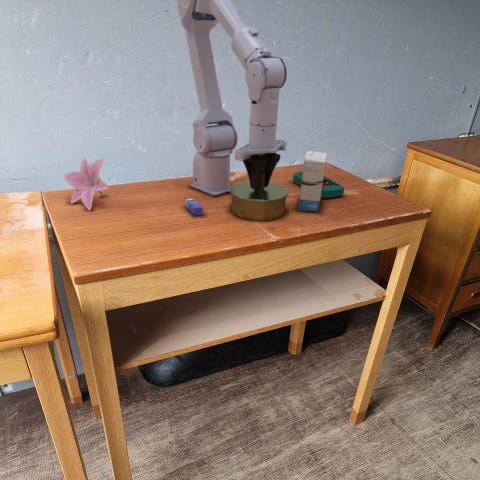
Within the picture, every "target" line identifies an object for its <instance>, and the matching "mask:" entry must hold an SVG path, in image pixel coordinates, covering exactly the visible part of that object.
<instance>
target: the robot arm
mask: <svg viewBox="0 0 480 480" xmlns="http://www.w3.org/2000/svg"><path fill="white" fill-rule="evenodd" d="M176 3H177V9H178V13H179V19H180V23H181V24H180V25H181V27H182V28H184V33H185V39H186V44H187V45H186V46H187V49H188V55H189V60H190V65H191V70H192V75H193V80H194V85H195V90H196V97H197V101H198V106H199V111H200V113H199V114H198V116H197V117H196V118H195V119H194V121H193V122H192V127H193V128H192V129H193V136H192V137H193V138H192V141H193V145H194V148H195V150H196V151H197V152H195V154H194V156H193V158H192V183H191V184H190V187H191V188H194V189H197V190H199V191H201V192H204V193H206V194H207V195H208V194H209V195H211V196H219V195H222V194H226V193H230V187H231V186H232V184H230V178H231V177H230V174H231V155H232V154H233V153H234V160H235V161H239V162H243V165H244V167H245V170H246V172H247V176H248V180H249V181H250V186H251V188H252V189H255V190H259V188H260V183H261V175H262V171H265V172H266V173H265V187H268V185H269V181H270V182H271V179H272V175H273V173H274V170H275V168H276V167H277V165H278V163H279V161H280V160H281V154H279V153H278V152H279V151H281V152H283V151H286V150H287V145H288V144H287V143H288V142H287V140H284V139H276V137H277V128H278V127H277V125H278V114H279V103H280V102H279V99H280V89H282V88H283V87H284V86H285V84H286V81H287V78H288V70H287V69H288V68H287V65H286V63H285V61H284V58H282V57H281V56H277V55H275V54H274V53H271V51H270V49H269V48H267V46H266V44H265V43H264V41H263V40H262V38H261V37H260V36H259V34H260V32H259V31H258V29H257V28H253V27H251V26H246V25H245V22H244V21H243V19H242V17H241V16H240V14H239V11H238V10H237V8H236V7H235V5H234V3H233V1H232V0H176ZM218 24H220V26H221V27H222V28H223V30H224V31H225V32H226V33H227V35H228V36H229V37H230V38H231V44H230V46H231V47H230V48H231V50H232V52H233V53H234V55H235V57H236V58H237V60H238V62H240V64H241V66H242V68H243V69H244V71H245V73H244V75H245V82H246V85H247V88H248V99H249V100H250V107H249V108H250V109H249V110H250V111H249V129H248V143H247V144H246V145H244V146H243V145H242V146H241V147H239V148H237V149H235V148H236V147H237V145H238V141H239V133H238V131H237V129H236V126H235V125H234V120H233V116H232V115H231V114H230V113H228V112H227V111H226V110H225V109H224V108H223V105H222V99H221V94H220V93H221V92H220V89H219V82H218V77H217V71H216V66H215V59H214V54H213V48H212V43H211V37H210V33H211V30H212V29H214V28H216V27H217V25H218Z"/></svg>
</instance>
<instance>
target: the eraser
mask: <svg viewBox="0 0 480 480" xmlns="http://www.w3.org/2000/svg"><path fill="white" fill-rule="evenodd" d="M184 202H185V207H186V208H187V209H188V211H190V212H191V213H192V214H193V215H194V217H197V216H202V215H203V206H202V205H200V204H199V203H198V202H197V201H196V200H195V199H193V198H186V199H185V201H184Z"/></svg>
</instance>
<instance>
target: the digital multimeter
mask: <svg viewBox="0 0 480 480" xmlns="http://www.w3.org/2000/svg"><path fill="white" fill-rule="evenodd" d="M302 175H303V170H302V171H297V172H294V173H293V176H292V181H293V182H294V183H295V184H297V185H298V186H300V187H301V183H302ZM344 191H345V187H344V186H343V185H342V184H340V183H338V182H336V181H335V180H333V179H331V178H329V177H327V176H325V175H324V180H323V186H322V192H321V198H320V200H322V199H331V198H338V197H342V196H343V195H344Z"/></svg>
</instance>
